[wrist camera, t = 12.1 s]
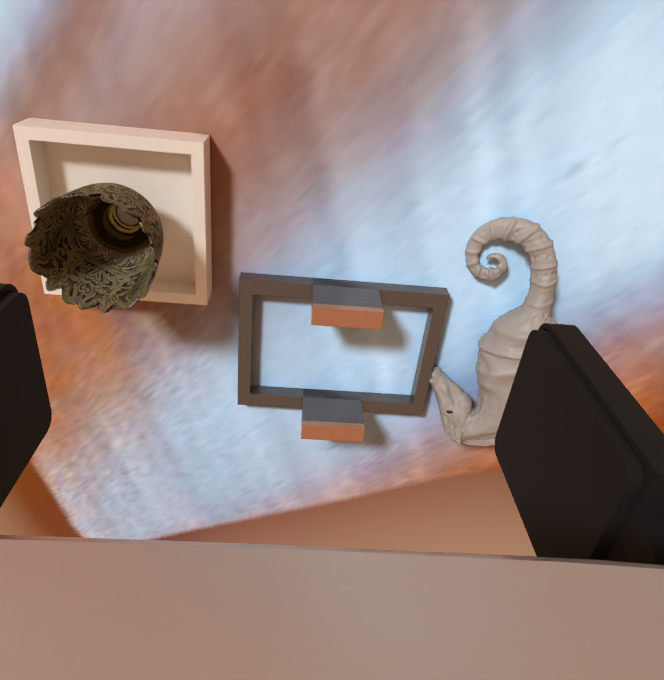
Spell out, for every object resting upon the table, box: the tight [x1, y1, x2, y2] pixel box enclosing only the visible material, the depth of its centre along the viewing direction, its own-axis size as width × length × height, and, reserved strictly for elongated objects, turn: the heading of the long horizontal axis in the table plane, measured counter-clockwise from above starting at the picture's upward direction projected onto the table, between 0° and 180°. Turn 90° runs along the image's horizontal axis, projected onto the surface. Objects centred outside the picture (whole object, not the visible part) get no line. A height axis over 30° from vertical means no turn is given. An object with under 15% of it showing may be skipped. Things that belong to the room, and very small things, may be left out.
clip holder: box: [238, 272, 449, 442], centre depth 44 cm, size 16×12×5 cm
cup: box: [25, 183, 164, 313], centre depth 36 cm, size 8×7×8 cm
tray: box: [13, 118, 212, 305], centre depth 39 cm, size 12×12×2 cm
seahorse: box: [430, 217, 572, 447], centre depth 44 cm, size 5×12×20 cm
